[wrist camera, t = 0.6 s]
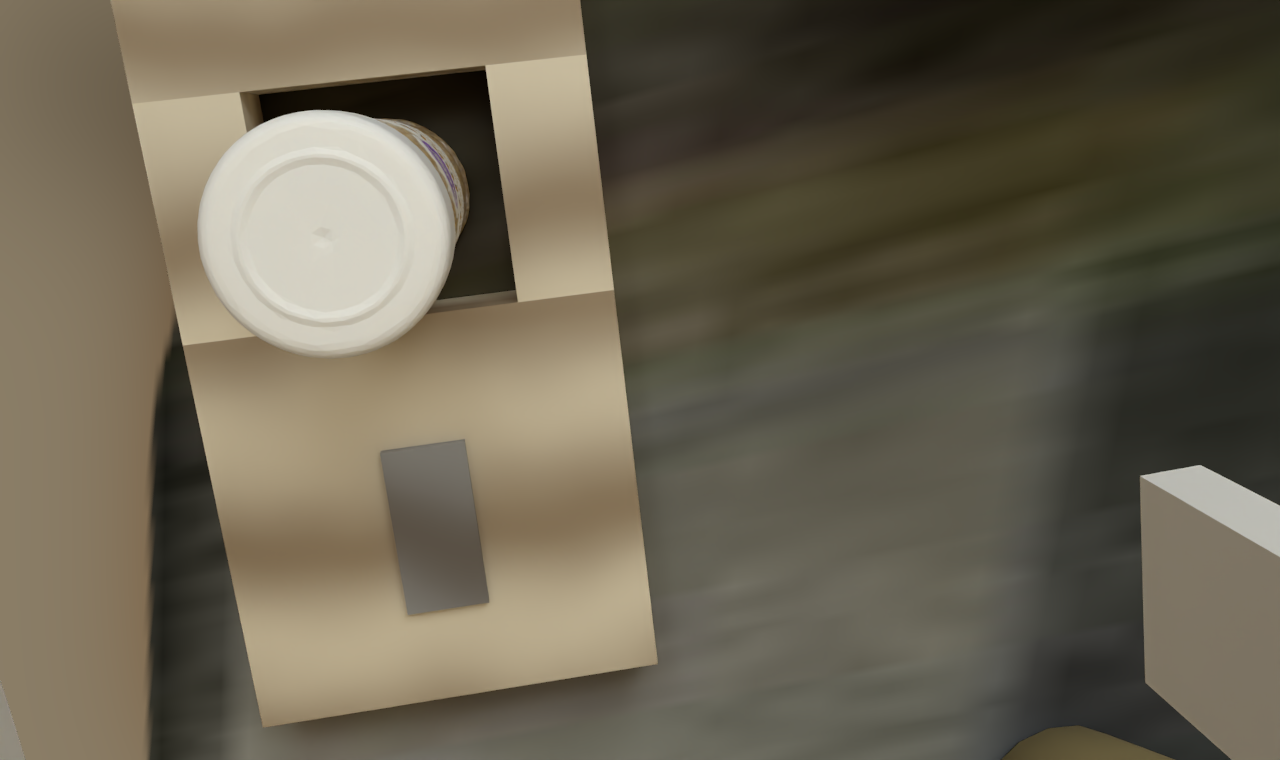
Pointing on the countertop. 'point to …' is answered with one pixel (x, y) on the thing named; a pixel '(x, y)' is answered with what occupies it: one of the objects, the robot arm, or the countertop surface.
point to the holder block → (409, 377)
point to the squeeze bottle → (1078, 746)
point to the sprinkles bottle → (332, 229)
